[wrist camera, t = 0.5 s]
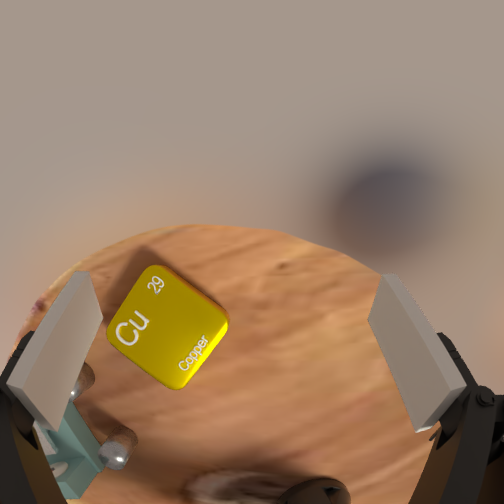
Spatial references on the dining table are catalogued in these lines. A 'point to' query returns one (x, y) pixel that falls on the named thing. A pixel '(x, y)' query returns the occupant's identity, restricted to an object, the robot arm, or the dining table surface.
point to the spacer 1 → (82, 382)
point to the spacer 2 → (118, 448)
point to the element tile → (167, 326)
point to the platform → (45, 439)
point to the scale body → (74, 454)
